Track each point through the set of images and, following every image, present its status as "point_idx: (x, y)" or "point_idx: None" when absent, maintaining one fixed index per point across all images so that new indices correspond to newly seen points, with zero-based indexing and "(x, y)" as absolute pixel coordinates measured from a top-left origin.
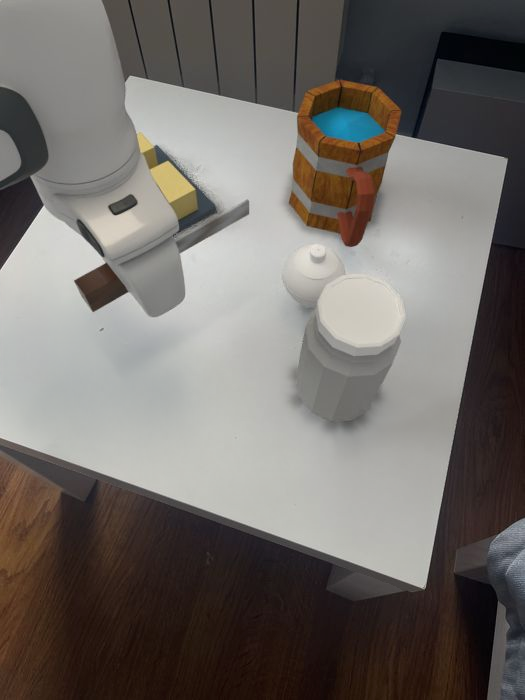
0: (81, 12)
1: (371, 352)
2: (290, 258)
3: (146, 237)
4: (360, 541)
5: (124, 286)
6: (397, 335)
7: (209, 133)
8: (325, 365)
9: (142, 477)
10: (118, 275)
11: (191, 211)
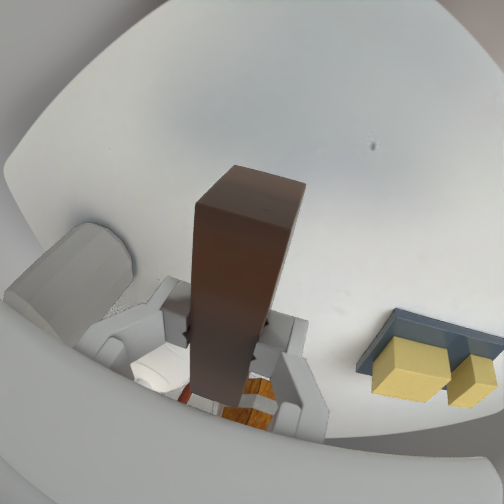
0: None
1: None
2: (171, 374)
3: None
4: (19, 162)
5: (186, 285)
6: None
7: (416, 412)
8: (11, 293)
9: (136, 31)
10: (16, 357)
11: (377, 359)
